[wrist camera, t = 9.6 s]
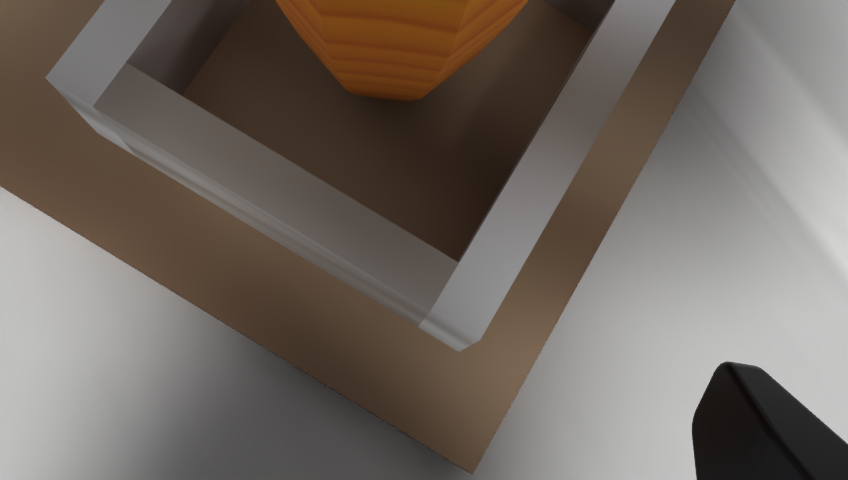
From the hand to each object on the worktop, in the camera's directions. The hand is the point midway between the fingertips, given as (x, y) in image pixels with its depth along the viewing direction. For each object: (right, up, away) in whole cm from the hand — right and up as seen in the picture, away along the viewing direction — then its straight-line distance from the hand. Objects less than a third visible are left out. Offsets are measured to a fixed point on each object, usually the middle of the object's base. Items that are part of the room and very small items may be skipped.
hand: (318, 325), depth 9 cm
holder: (-2, +5, +10) cm, 12 cm away
